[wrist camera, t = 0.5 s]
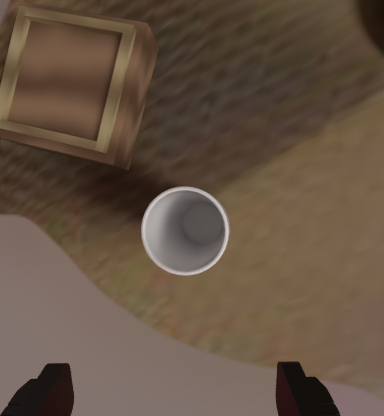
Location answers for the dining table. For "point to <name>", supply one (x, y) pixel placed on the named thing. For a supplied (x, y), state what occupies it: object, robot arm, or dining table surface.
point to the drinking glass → (185, 230)
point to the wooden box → (76, 83)
